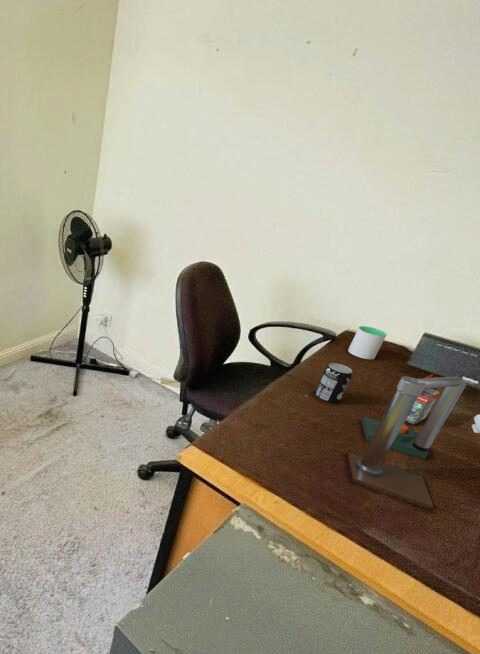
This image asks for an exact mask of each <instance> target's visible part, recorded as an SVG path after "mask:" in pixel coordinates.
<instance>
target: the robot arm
mask: <svg viewBox="0 0 480 654" xmlns="http://www.w3.org/2000/svg"><path fill="white" fill-rule="evenodd" d="M473 421H474V423H473V424H471V429H472V431H473V433H475V434H480V414H479V413H478V414H477V415H475V416H474V417H473Z"/></svg>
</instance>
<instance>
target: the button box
mask: <svg viewBox="0 0 480 654" xmlns="http://www.w3.org/2000/svg"><path fill="white" fill-rule="evenodd" d="M380 422H381V420H377V419H374V418H370V417H367V416H364V417H362V420H361V424H362V428H363V433H364V436H365V440H366V441H368V442H369V443H370V442H371V440H372V438H373V436H374V434H375V432H376V430H377V428H378V426H379V424H380ZM419 434H420V432H419V431H415V430H412V429H410V428H408V430H407V431H406V433H405V434H401V433H399V434H398V436H397V438H396V439H395V441H394V443H393V445H392V447H391V449H390V450H394V451H398V452H401V453H404V454H407V455H410V456H412V457H416V458H420V459H423V460H426V458H427V457H428V455H429V452H422V451H419V450H417V449H415V448H414V447H413V446H412V444H413V442H414V441H416V439H417V437H418V436H419Z"/></svg>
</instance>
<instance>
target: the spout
mask: <svg viewBox="0 0 480 654" xmlns="http://www.w3.org/2000/svg"><path fill="white" fill-rule="evenodd" d="M467 384H468V383H466V382H465V380H464V379H463V378H461V377H459V376H445V377H432V378H426V377H424V378H415V377H412V376H401V378H400V380H399V382H398V383H397V386H396V390H397V389H398V390H399V391H401V392H403V393H405V394H408V395H412V396H420V395H421V394H422V392H423V390H424V388H431V389H437V388H444V389H443V391H442V392H441V395H440V396H439V398H438V400H437V402H436V404H434V407H433V409H432V411H431V413H430V414H429V416H428V418H427V420H426V421H425V423H424V425H423V427H422V428H421V430H420V432H419V433H420V434H419V436H418V437H417V439H416V441H414V442H413V444H412V446H413V447H414V448H415V449H417V450H419V451H422V452H428V453H430V450H431V447H432V445H433V443H434V442H435V439H436V438H437V436H438V435H439V433H440V431H441V430H442V427H443V426H444V424H445V422H446V421H447V419H448V417H449V416H450V414H451V412H452V410H453V409H454V407H455V406H456V403H457V402H458V400H459V398H460V397H461V394H462V393H463V392H464V390H465V388H466V386H467Z"/></svg>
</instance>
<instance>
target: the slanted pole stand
mask: <svg viewBox="0 0 480 654" xmlns="http://www.w3.org/2000/svg"><path fill="white" fill-rule="evenodd" d="M418 397H419V396H412V395H408V394H405V393H403V392H401V391H399V390H398V389H397V388H396V391H395V392H394V394H393V396H392V399H391V400H390V402H389V404H388V406H387V408H386V410H385V412H384V414H383V416H382V418H381V420H380V421H381V422H380V424H379V426H378V428H377V430H376V432H375V434H374V436H373V438H372V440H371V442H370V441H369V443H368V445H367V448H366V449H365V452H363V453H364V454H363V455H362V456H361V455H358V454H356V453H352V452H349V453H348V456H347V458H348V463H349V468H350V472H351V473H350V474H351V478H352V481H353V482H356V483H359V484H361V485H364V486H366V487H369V488H373V489H374V490H378V491H381V492H383V493H386V494H388V495H389V494H390V495H392V496H395V497H398V498H401V499H403V500H406V501H409V502H412V503H415V504H418V505H421V506H423V507H426V508H429V509H434V503H433V500H432V498H431V496H430V493H429V490H428V488H427V485H426V483H425V480H424V478H423V476H421V475H419V474H416V473H413V472H409V471H406V470H403V469H401V468H397V467H394V466H391V465H388V464H385V463H384V462H385V460H386V459H387V456H388V454H389V453H390V450H392V449H391V447H392V445H393V443H394V441H395V439H396V438H397V436H398V434H399V432H400V430H401V428H402V426H403V425H404V424H405V423H406V422H407V421H406V419H407V417H408V415H409V413H410V411H411V410H412V408H413V406H414V404H415V402H416V400H417V398H418Z"/></svg>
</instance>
